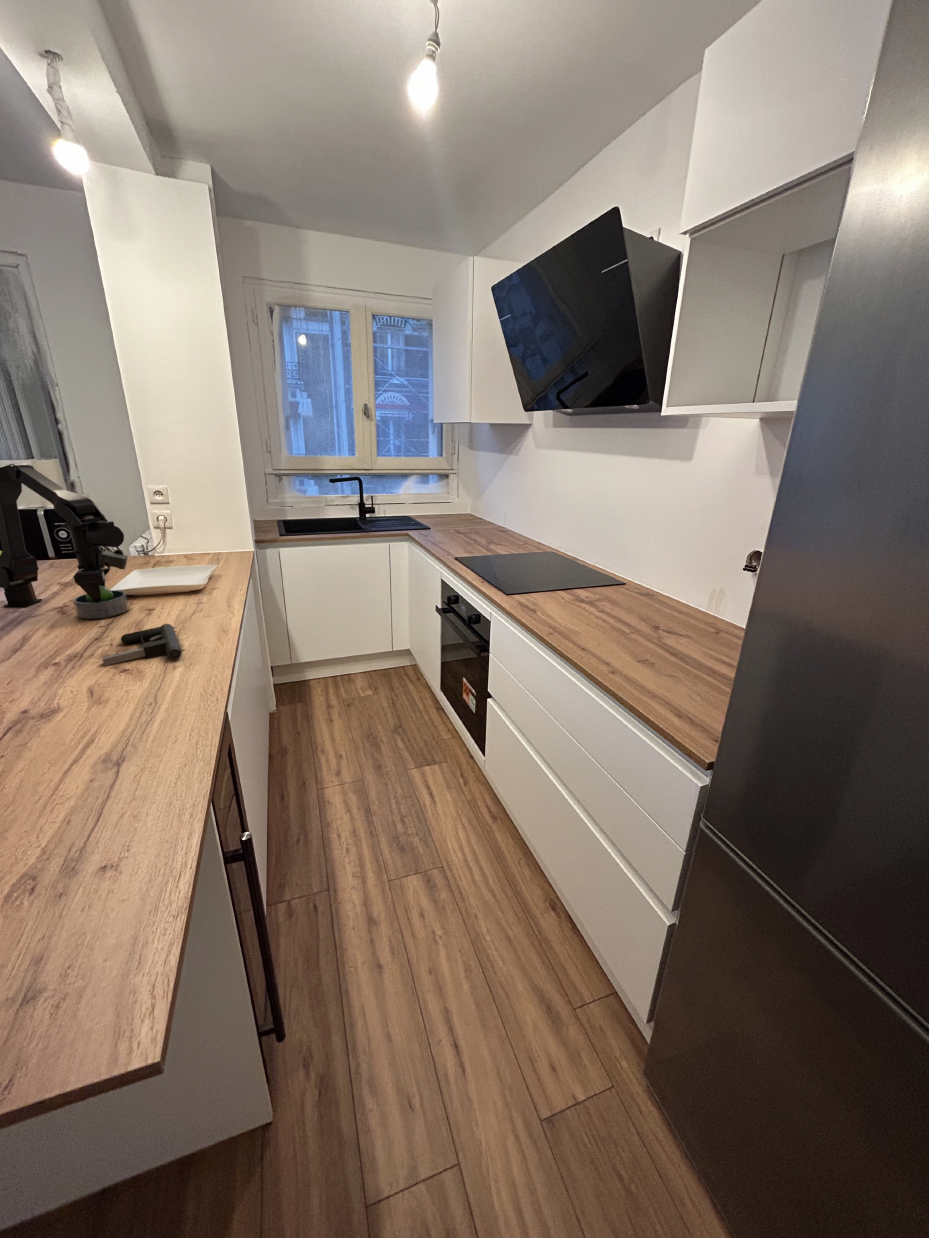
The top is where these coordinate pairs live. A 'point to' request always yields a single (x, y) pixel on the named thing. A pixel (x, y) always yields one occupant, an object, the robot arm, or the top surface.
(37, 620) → the top surface
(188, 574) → the square plate
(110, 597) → the broccoli
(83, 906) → the top surface
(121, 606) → the bowl
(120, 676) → the top surface
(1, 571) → the robot arm
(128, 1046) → the top surface
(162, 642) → the door handle
